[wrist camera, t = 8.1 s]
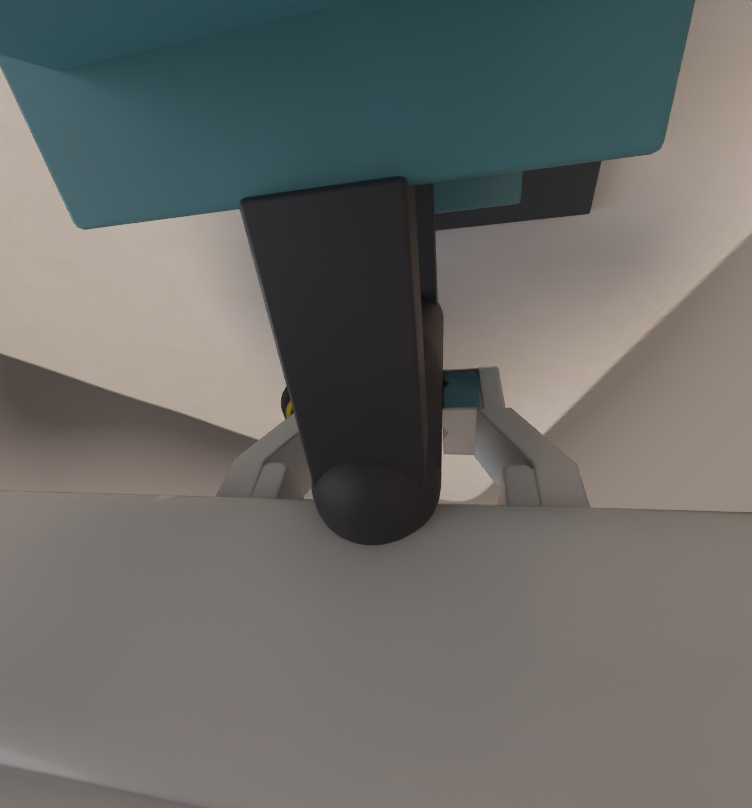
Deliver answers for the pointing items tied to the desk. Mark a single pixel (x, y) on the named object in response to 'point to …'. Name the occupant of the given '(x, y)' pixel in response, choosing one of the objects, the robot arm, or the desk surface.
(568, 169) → the ironing mat
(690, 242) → the desk surface
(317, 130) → the iron
